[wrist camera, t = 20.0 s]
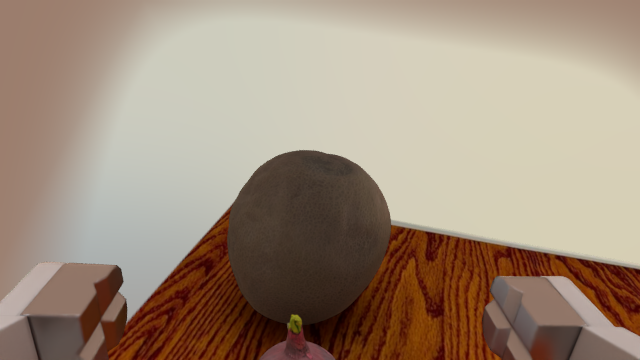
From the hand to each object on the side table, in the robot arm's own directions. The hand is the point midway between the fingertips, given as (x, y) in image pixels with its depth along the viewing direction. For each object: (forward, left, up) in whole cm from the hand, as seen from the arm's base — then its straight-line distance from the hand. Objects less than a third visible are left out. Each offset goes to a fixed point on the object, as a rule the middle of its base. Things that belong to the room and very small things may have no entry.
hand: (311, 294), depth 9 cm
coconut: (+1, +25, -22) cm, 33 cm away
